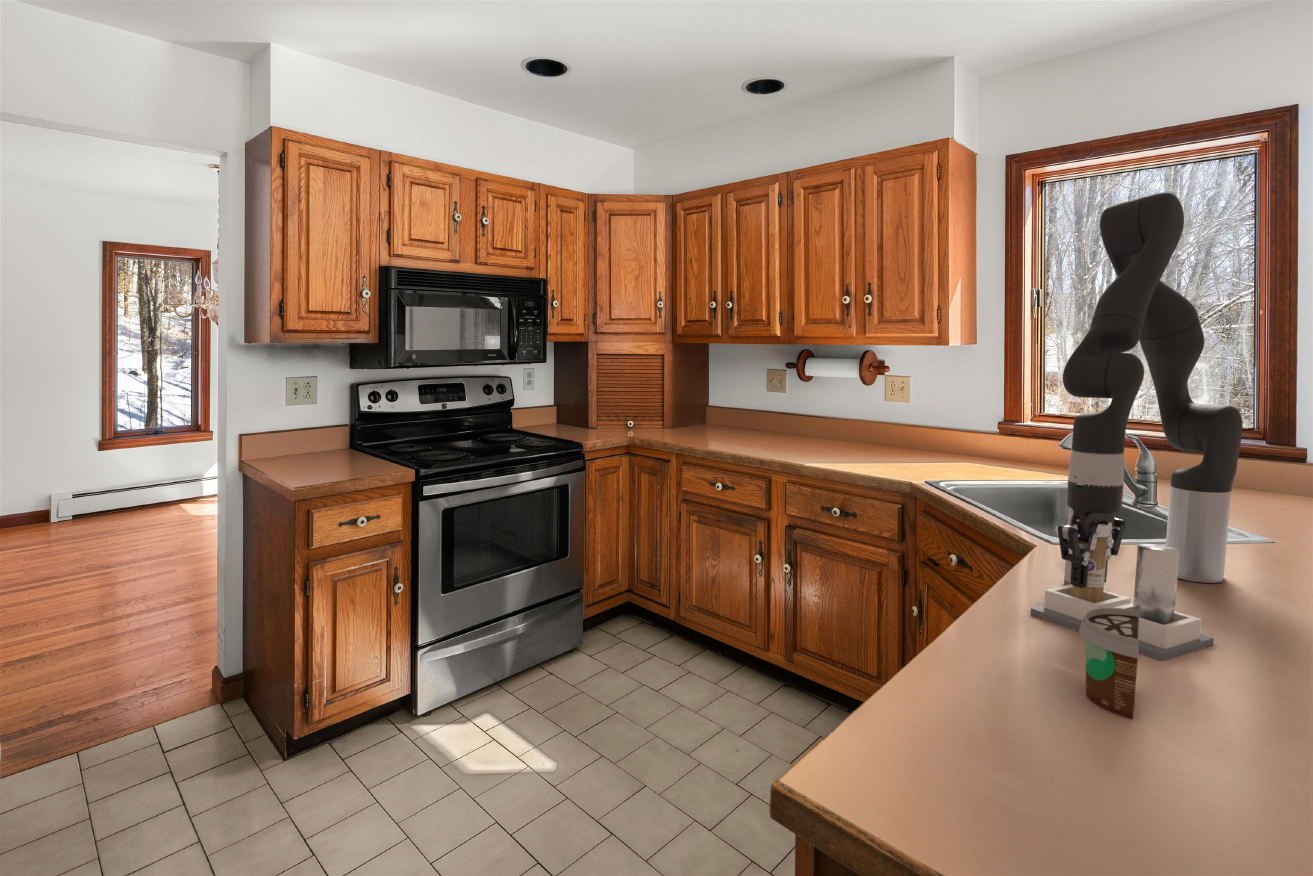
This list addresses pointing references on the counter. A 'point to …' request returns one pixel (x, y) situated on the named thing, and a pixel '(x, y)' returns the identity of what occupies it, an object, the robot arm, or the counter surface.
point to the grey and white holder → (1151, 635)
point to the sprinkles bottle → (1095, 569)
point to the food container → (1111, 658)
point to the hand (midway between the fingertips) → (1088, 583)
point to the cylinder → (1156, 582)
